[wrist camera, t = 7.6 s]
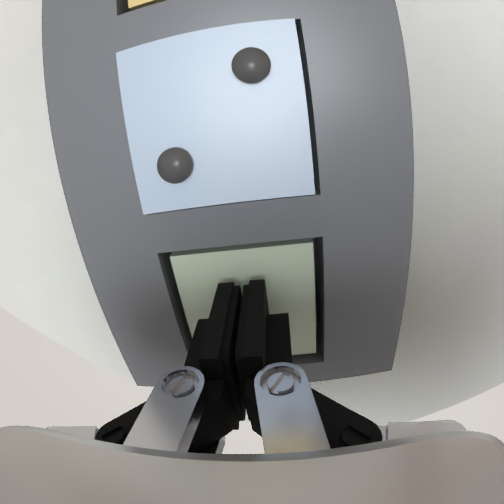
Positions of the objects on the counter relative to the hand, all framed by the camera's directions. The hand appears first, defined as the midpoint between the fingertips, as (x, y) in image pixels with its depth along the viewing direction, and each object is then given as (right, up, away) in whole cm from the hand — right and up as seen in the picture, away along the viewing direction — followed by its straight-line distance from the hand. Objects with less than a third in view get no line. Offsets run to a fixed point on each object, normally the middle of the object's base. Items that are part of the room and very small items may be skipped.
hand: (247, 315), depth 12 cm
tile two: (-1, +7, -2) cm, 7 cm away
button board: (-1, +8, 0) cm, 8 cm away
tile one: (0, +1, +2) cm, 2 cm away
